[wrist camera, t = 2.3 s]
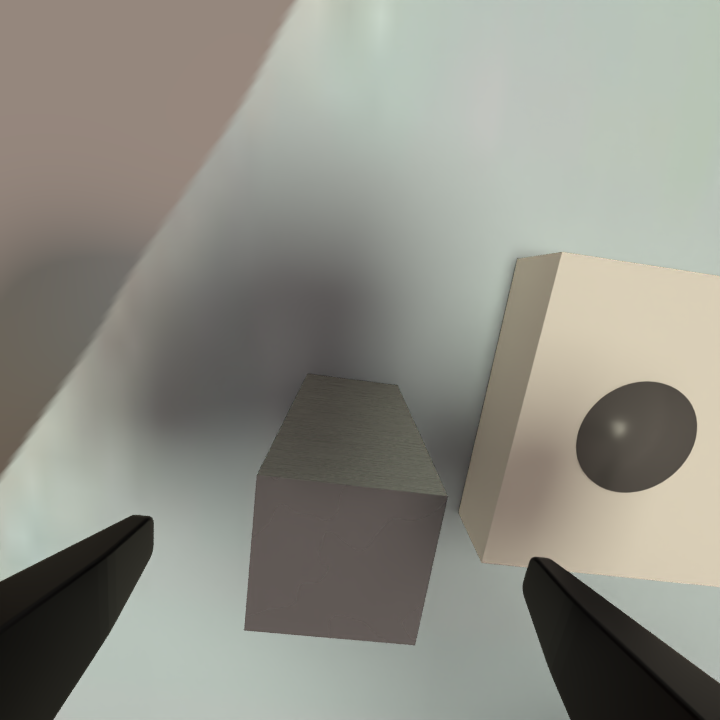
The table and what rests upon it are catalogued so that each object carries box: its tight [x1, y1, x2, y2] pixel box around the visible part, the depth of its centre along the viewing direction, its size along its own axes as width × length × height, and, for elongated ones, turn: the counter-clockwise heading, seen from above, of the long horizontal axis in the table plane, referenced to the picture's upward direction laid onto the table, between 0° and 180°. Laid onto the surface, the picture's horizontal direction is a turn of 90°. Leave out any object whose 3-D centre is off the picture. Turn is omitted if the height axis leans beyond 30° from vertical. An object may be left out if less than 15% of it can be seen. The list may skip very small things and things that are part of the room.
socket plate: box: [458, 252, 720, 587], centre depth 14 cm, size 12×18×3 cm, turn 82°
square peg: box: [244, 374, 448, 645], centre depth 11 cm, size 4×4×8 cm
